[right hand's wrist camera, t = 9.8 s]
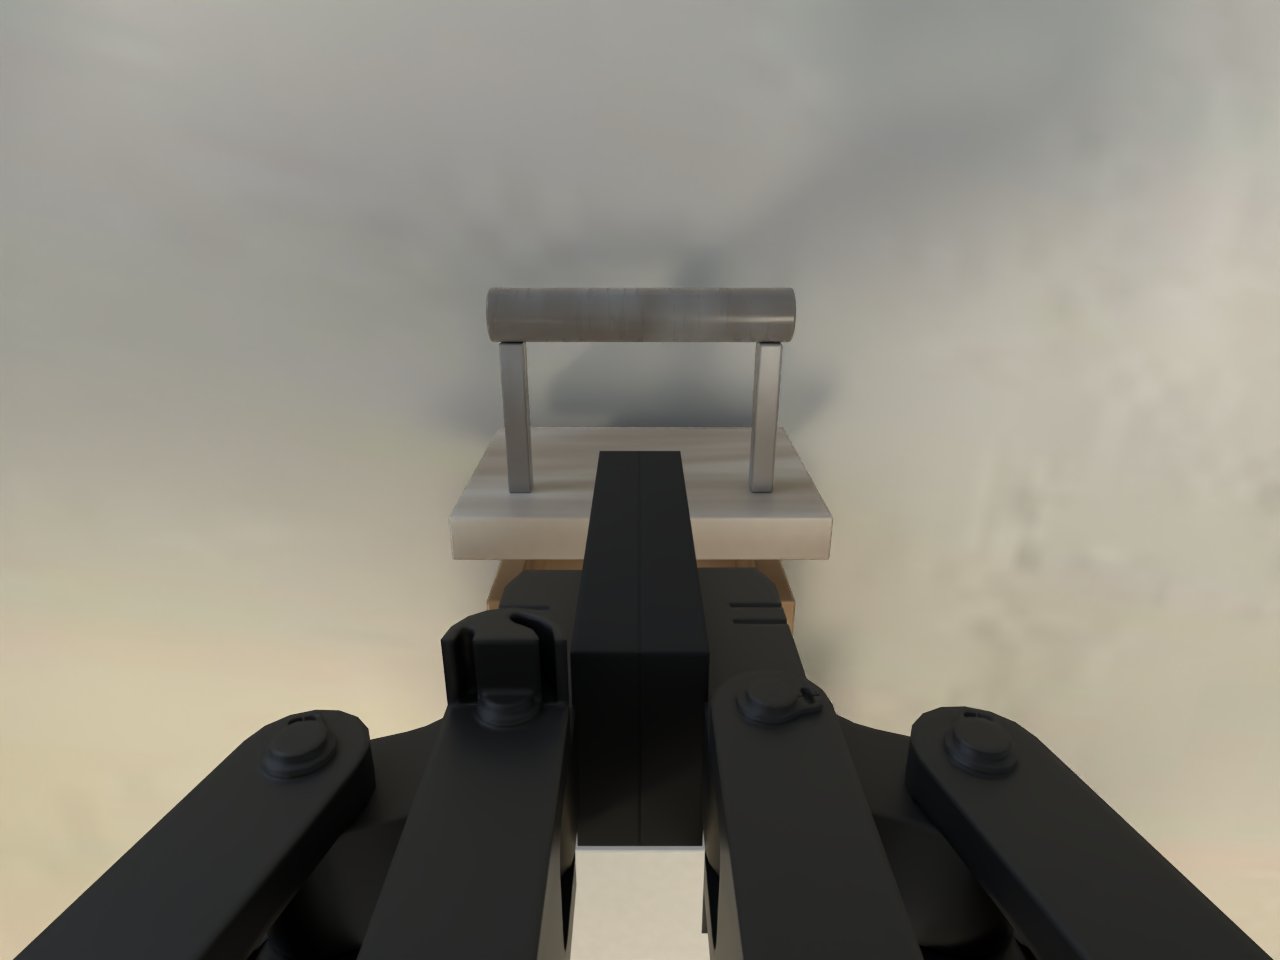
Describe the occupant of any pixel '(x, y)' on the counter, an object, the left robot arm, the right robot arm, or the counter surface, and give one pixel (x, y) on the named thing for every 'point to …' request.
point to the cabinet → (639, 903)
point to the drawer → (641, 439)
